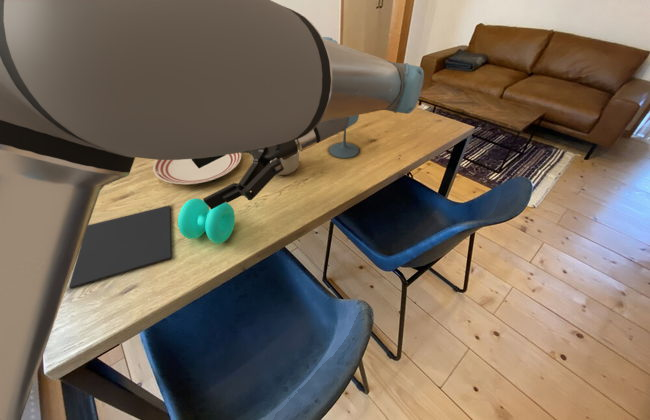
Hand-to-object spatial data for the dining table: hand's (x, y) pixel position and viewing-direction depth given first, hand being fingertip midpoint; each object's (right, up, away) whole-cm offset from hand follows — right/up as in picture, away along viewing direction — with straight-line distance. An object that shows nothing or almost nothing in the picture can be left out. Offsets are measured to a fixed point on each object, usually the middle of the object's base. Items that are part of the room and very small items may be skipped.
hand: (200, 182), depth 57 cm
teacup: (+11, +7, +34) cm, 36 cm away
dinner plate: (-16, +9, +36) cm, 41 cm away
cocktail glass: (+33, +16, +44) cm, 57 cm away
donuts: (-3, -12, +13) cm, 18 cm away
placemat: (-23, -14, +11) cm, 29 cm away
